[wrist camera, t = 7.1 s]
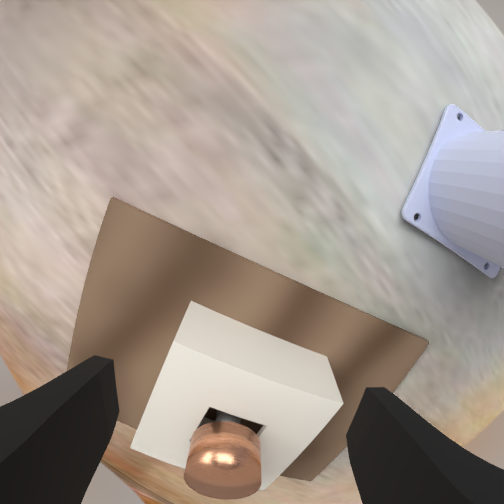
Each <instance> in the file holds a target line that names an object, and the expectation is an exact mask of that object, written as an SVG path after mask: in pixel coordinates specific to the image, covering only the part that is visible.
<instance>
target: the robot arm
mask: <svg viewBox="0 0 504 504" xmlns="http://www.w3.org/2000/svg"><path fill="white" fill-rule="evenodd" d="M457 114H458V115H459V116H460V120H458V118H457ZM416 213H417V214H418V219H417V220H416V221H415V220H414V215H415V214H416ZM401 215H402V218H403V219H404V220H405V221H407V222H409V223H410V224H412V225H413V226H415V227H417V228H418V229H420V230H421V231H423V232H424V233H426V234H427V235H429V236H431V237H432V238H434V239H435V240H437V241H438V242H440V243H441V244H443V245H444V246H446V247H447V248H449V249H450V250H452V251H453V252H454V253H456V254H457V255H459V256H460V257H462V258H463V259H465V260H466V261H467V262H469V263H470V264H472V265H473V266H474V267H476V268H477V269H479V270H480V271H481V272H483V273H484V274H485V275H487V276H488V277H490V278H492V279H493V278H495V277H496V276H497V274H498V272H499V270H500V268H503V269H504V130H500V131H485V130H484V129H483V128H481V127H480V126H479V125H478V124H477V123H476V122H475V121H474V120H473V119H471V118H470V117H469V116H468V115H467V114H466V113H464V112H463V111H462V110H461V109H460V108H458V107H457V106H456V105H454V104H450V105H448V106H446V108H445V111H444V113H443V116H442V119H441V121H440V124H439V126H438V129H437V131H436V134H435V136H434V139H433V141H432V144H431V146H430V148H429V151H428V153H427V155H426V158H425V160H424V162H423V165H422V167H421V169H420V171H419V174H418V176H417V178H416V180H415V182H414V185H413V187H412V189H411V191H410V193H409V195H408V197H407V200H406V202H405V204H404V206H403V208H402V211H401ZM485 264H486V266H485ZM484 266H485V268H484ZM119 412H120V410H119V403H118V396H117V388H116V379H115V370H114V360H113V359H109V358H105V357H100V356H96V355H94V356H92V357H90V358H88V359H87V360H85V361H83V362H81V363H80V364H78V365H76V366H75V367H73V368H72V369H70V370H68V371H67V372H65V373H63V374H62V375H60V376H58V377H57V378H55V379H53V380H51V381H50V382H48V383H46V384H45V385H43V386H41V387H39V388H37V389H35V390H34V391H32V392H30V393H28V394H26V395H24V396H22V397H20V398H18V399H16V400H14V401H12V402H10V403H8V404H6V405H3V406H1V407H0V504H81V502H82V500H83V497H84V495H85V492H86V490H87V488H88V486H89V484H90V482H91V479H92V477H93V475H94V473H95V471H96V469H97V467H98V465H99V463H100V461H101V459H102V456H103V454H104V452H105V450H106V448H107V446H108V444H109V442H110V439H111V437H112V434H113V431H114V428H115V425H116V421H117V418H118V415H119ZM346 439H347V446H348V453H349V459H350V464H351V467H352V470H353V474H354V477H355V480H356V484H357V487H358V490H359V493H360V496H361V500H362V503H363V504H504V470H503V469H501V468H498V467H496V466H494V465H492V464H490V463H488V462H486V461H484V460H483V459H481V458H479V457H477V456H476V455H474V454H472V453H470V452H469V451H467V450H466V449H464V448H462V447H461V446H460V445H458V444H457V443H455V442H454V441H452V440H451V439H449V438H448V437H447V436H445V435H444V434H443V433H441V432H440V431H439V430H437V429H436V428H435V427H433V426H432V425H431V424H430V423H428V422H427V421H426V420H425V419H423V418H422V417H421V416H420V415H419V414H417V413H416V412H415V411H414V410H413V409H411V408H410V407H409V406H408V405H407V404H405V403H404V402H403V401H402V400H400V399H399V398H398V397H397V396H395V395H394V394H393V393H392V392H390V391H389V390H388V389H386V388H385V387H366V389H365V391H364V394H363V396H362V399H361V401H360V404H359V406H358V408H357V411H356V413H355V415H354V418H353V420H352V422H351V425H350V427H349V429H348V431H347V434H346Z"/></svg>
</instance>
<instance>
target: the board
mask: <svg viewBox="0 0 504 504" xmlns="http://www.w3.org/2000/svg"><path fill="white" fill-rule="evenodd" d="M191 301H193V302H195V303H197V304H200V305H202V306H204V307H206V308H209V309H211V310H213V311H215V312H218V313H220V314H222V315H225V316H227V317H229V318H232V319H234V320H236V321H239V322H241V323H243V324H246V325H248V326H250V327H253V328H255V329H258V330H260V331H263V332H265V333H268V334H270V335H272V336H275V337H277V338H280V339H282V340H285V341H288V342H290V343H293V344H295V345H298V346H300V347H303V348H306V349H308V350H311V351H313V352H316V353H319V354H321V355H324V356H327V358H328V361H329V364H330V366H331V369H332V372H333V375H334V378H335V380H336V383H337V386H338V389H339V392H340V395H341V398H342V400H343V403H344V404H343V405H342V406H341V407H340V409H339V410H338V411H337V412H336V414H335V415H334V416H333V417H332V418H331V420H330V421H329V422H328V423H327V424H326V426H325V427H324V428H323V429H322V430H321V431H320V433H319V434H318V435H317V436H316V437H315V438H314V439H313V440H312V442H311V443H310V444H309V445H308V446H307V447H306V448H305V449H304V450H303V451H302V453H301V454H300V455H299V456H298V457H297V458H296V459H295V460H294V461H293V462H292V463H291V464H290V465H289V466H288V467H287V468H286V469H285V470H284V471H283V472H282V473H281V474H280V475H281V476H285V477H290V478H295V479H301V480H307V481H312V480H313V479H314V478H315V477H316V476H317V475H318V474H319V473H320V472H321V471H322V470H323V469H324V468H325V467H326V466H327V465H328V464H329V463H330V462H331V461H333V460H334V459H335V457H336V456H337V455H338V454H339V453H340V452H341V451H342V450H343V449H344V448H345V447H346V446H347V439H346V434H347V431H348V429H349V427H350V425H351V422H352V420H353V418H354V415H355V413H356V411H357V408H358V406H359V404H360V401H361V399H362V396H363V394H364V391H365V389H366V387H385V388H386V389H388V390H389V391H390V392H392V393H393V392H394V391H395V389H396V388H397V387H398V385H399V384H400V383H401V381H402V380H403V379H404V377H405V376H406V375H407V373H408V372H409V371H410V369H411V368H412V367H413V365H414V364H415V362H416V361H417V360H418V358H419V357H420V355H421V354H422V352H423V351H424V349H425V348H426V347H427V345H428V344H429V342H428V341H427V340H426V339H424V338H421V337H419V336H417V335H415V334H412V333H410V332H408V331H406V330H403V329H401V328H399V327H397V326H394V325H392V324H390V323H388V322H385V321H383V320H381V319H379V318H376V317H374V316H372V315H370V314H368V313H365V312H363V311H361V310H359V309H356V308H354V307H352V306H350V305H347V304H345V303H343V302H341V301H339V300H336V299H334V298H332V297H330V296H327V295H325V294H323V293H321V292H319V291H316V290H314V289H312V288H310V287H308V286H305V285H303V284H301V283H299V282H297V281H294V280H292V279H290V278H288V277H285V276H283V275H281V274H279V273H277V272H274V271H272V270H270V269H268V268H266V267H264V266H261V265H259V264H257V263H255V262H253V261H250V260H248V259H246V258H244V257H242V256H239V255H237V254H235V253H233V252H231V251H229V250H226V249H224V248H222V247H220V246H218V245H215V244H213V243H211V242H209V241H207V240H205V239H202V238H200V237H198V236H196V235H194V234H192V233H189V232H187V231H185V230H183V229H181V228H179V227H176V226H174V225H172V224H170V223H168V222H166V221H163V220H161V219H159V218H157V217H155V216H153V215H151V214H148V213H146V212H144V211H142V210H140V209H138V208H136V207H133V206H131V205H129V204H127V203H125V202H123V201H121V200H118V199H116V198H114V197H113V198H111V199H110V202H109V204H108V207H107V210H106V213H105V216H104V219H103V222H102V225H101V229H100V232H99V235H98V238H97V241H96V245H95V248H94V251H93V255H92V258H91V262H90V266H89V269H88V273H87V277H86V281H85V284H84V288H83V293H82V297H81V301H80V305H79V310H78V314H77V319H76V323H75V328H74V333H73V338H72V344H71V349H70V355H69V361H68V367H67V371H68V370H70V369H72V368H73V367H75V366H76V365H78V364H80V363H81V362H83V361H85V360H87V359H88V358H90V357H92V356H94V355H96V356H100V357H105V358H109V359H113V360H114V370H115V379H116V388H117V396H118V403H119V410H120V412H119V415H118V418H117V420H118V421H120V422H122V423H124V424H126V425H129V426H131V427H133V428H135V429H138V426H139V424H140V421H141V419H142V416H143V414H144V411H145V409H146V406H147V404H148V401H149V399H150V396H151V394H152V391H153V389H154V386H155V384H156V381H157V379H158V377H159V374H160V372H161V369H162V367H163V365H164V362H165V360H166V357H167V355H168V353H169V350H170V348H171V346H172V343H173V341H174V339H175V336H176V334H177V332H178V329H179V327H180V325H181V322H182V320H183V318H184V315H185V313H186V311H187V309H188V306H189V304H190V302H191ZM216 412H217V409H214V408H212V407H209V409H208V410H207V412H206V414H205V415H204V417H205V418H208V419H211V420H214V421H215V419H216ZM240 424H241V425H244V426H246V427H248V428H250V429H251V430H253V431H254V432H255V433H256V434H257V433H258V432H259V431H260V429H261V428H262V427H263V425H262V424H259V423H256V422H252V421H249V420H246V419H243V418H241V420H240Z"/></svg>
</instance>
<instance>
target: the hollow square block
mask: <svg viewBox="0 0 504 504" xmlns="http://www.w3.org/2000/svg"><path fill="white" fill-rule="evenodd" d="M343 404H344V403H343V400H342V398H341V395H340V392H339V389H338V386H337V383H336V380H335V378H334V375H333V372H332V369H331V366H330V364H329V361H328V358H327V356H324V355H321V354H319V353H316V352H313V351H311V350H308V349H306V348H303V347H300V346H298V345H295V344H293V343H290V342H288V341H285V340H282V339H280V338H277V337H275V336H272V335H270V334H268V333H265V332H263V331H260V330H258V329H255V328H253V327H250V326H248V325H246V324H243V323H241V322H239V321H236V320H234V319H232V318H229V317H227V316H225V315H222V314H220V313H218V312H215V311H213V310H211V309H209V308H206V307H204V306H202V305H200V304H197V303H195V302H193V301H191V302H190V304H189V306H188V309H187V311H186V313H185V315H184V318H183V320H182V322H181V325H180V327H179V329H178V332H177V334H176V336H175V339H174V341H173V343H172V346H171V348H170V350H169V353H168V355H167V357H166V360H165V362H164V365H163V367H162V369H161V372H160V374H159V377H158V379H157V381H156V384H155V386H154V389H153V391H152V394H151V396H150V399H149V401H148V404H147V406H146V409H145V411H144V414H143V416H142V419H141V421H140V424H139V426H138V429H137V431H136V434H135V436H134V439H133V441H132V444H131V447H130V448H132V449H134V450H136V451H139V452H141V453H144V454H146V455H148V456H151V457H153V458H156V459H159V460H161V461H164V462H167V463H169V464H172V465H175V466H178V467H181V468H183V469H185V468H186V463H187V458H188V453H189V448H190V443H191V438H192V435H193V433H194V431H195V430H196V429H197V428H199V427H200V426H202V425H204V424H207V423H211V422H215V421H214V420H211V419H208V418H205V417H204V415H205V414H206V412H207V410H208V409H209V407H212V408H214V409H217V410H220V411H223V412H225V413H228V414H231V415H234V416H237V417H240V418H243V419H246V420H249V421H252V422H256V423H259V424H262V425H263V427H262V428H261V429H260V431H259V432H258V433H257V435H258V437H259V439H260V442H261V481H262V482H261V486H260V488H259V490H265V489H266V488H267V487H268V486H269V485H270V484H271V483H272V482H273V481H274V480H275V479H276V478H277V477H278V476H279V475H280V474H281V473H282V472H283V471H284V470H285V469H286V468H287V467H288V466H289V465H290V464H291V463H292V462H293V461H294V460H295V459H296V458H297V457H298V456H299V455H300V454H301V453H302V451H303V450H304V449H305V448H306V447H307V446H308V445H309V444H310V443H311V442H312V440H313V439H314V438H315V437H316V436H317V435H318V434H319V433H320V431H321V430H322V429H323V428H324V427H325V426H326V424H327V423H328V422H329V421H330V420H331V418H332V417H333V416H334V415H335V414H336V412H337V411H338V410H339V409H340V407H341V406H342V405H343Z"/></svg>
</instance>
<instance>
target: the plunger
mask: <svg viewBox="0 0 504 504" xmlns="http://www.w3.org/2000/svg"><path fill="white" fill-rule="evenodd" d="M240 420H241V418H240V417H237V416H234V415H231V414H228V413H225V412H223V411H220V410H217V412H216V419H215V422H211V423H207V424H204V425H202V426H200V427H199V428H197V429H196V430H195V431H194V433H193V435H192V438H191V443H190V448H189V453H188V458H187V463H186V468H185V473H184V480H185V482H186V484H187V485H188V486H189V487H190V488H191V489H193V490H194V491H196V492H198V493H200V494H202V495H204V496H208V497H211V498H216V499H239V498H244V497H247V496H250V495H252V494H253V493H255V492H256V491H258V489H259V488H260V486H261V482H262V481H261V442H260V439H259V437H258V435H257V434H256V433H255V432H254V431H253V430H251V429H250V428H248V427H246V426H244V425H241V424H240Z"/></svg>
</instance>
